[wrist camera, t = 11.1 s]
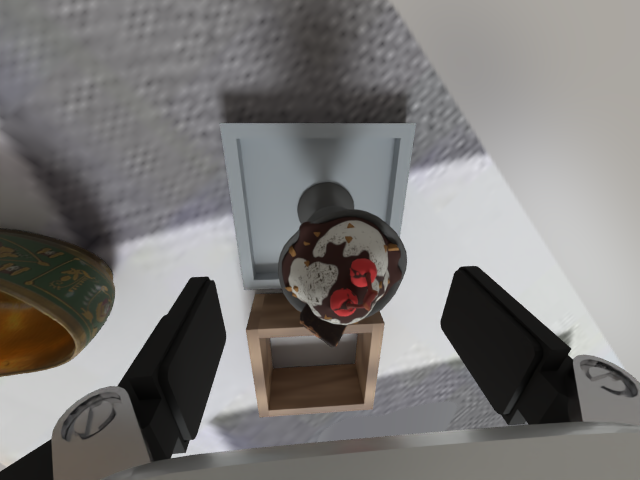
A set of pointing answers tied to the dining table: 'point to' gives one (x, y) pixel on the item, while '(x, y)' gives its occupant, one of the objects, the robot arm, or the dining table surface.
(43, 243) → the green bowl
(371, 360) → the holder
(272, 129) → the tray
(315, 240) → the sundae
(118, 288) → the dining table surface
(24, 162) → the dining table surface
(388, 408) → the dining table surface
